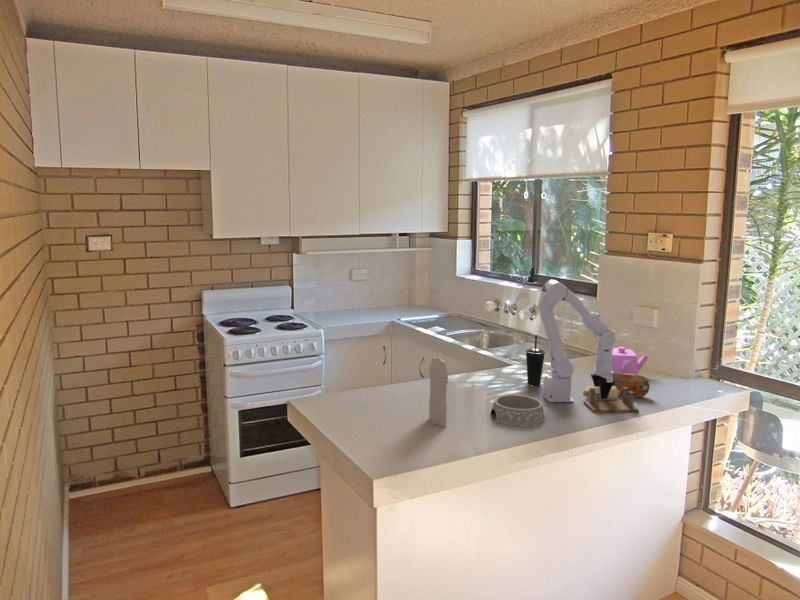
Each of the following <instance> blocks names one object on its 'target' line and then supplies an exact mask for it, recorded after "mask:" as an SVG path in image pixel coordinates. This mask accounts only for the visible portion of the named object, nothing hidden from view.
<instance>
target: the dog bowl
mask: <svg viewBox="0 0 800 600" xmlns="http://www.w3.org/2000/svg"><path fill="white" fill-rule="evenodd" d="M493 410H494V411H493ZM493 412H494V413H495V416H496V421H497V420H498V421H497V422H499V421H500V422H499V423H502V422H503V423H502V424H506V423H507V424H506V425H510V424H512V425H513V426H519V425H522V426H523V425H528V426H535V425H539V424H541V423H542V421H543V420H544V421H545V419H546V417H545V413H544V406H543V403H542V401H541V400H539V399H537V398H535V397H532V396H529V395H527V396H526V395H522V394H504V395H500V396H497V397H496V398H494V400H493V404H492V408H491V411H490V413H493ZM544 421H543V422H544ZM538 423H539V424H538ZM534 424H535V425H534ZM512 425H511V426H512Z"/></svg>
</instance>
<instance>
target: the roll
mask: <svg viewBox="0 0 800 600" xmlns="http://www.w3.org/2000/svg"><path fill="white" fill-rule="evenodd" d="M590 388H595V392H599V393H600V386H594V385H592V386H591V385H590V386H589V385H588V386H586V389H585V390H583V391H582V395H583V397H586V399H587V401H589V399H590ZM619 396H621V395H620V391H619V390H617V388H616V387H615V386H612V387H611V389H610V392H609V395H608V398H607V399H602V398H601V394H600V399H599V401H605V400H617V399H618V397H619ZM594 398H595V397H594Z"/></svg>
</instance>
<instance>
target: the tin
mask: <svg viewBox="0 0 800 600" xmlns="http://www.w3.org/2000/svg"><path fill="white" fill-rule="evenodd" d="M612 377H613V381H615V382H614V384H613V386H615V387H616V388H617V390H619V391H620V396H623V387H627V388H628V392H629V391H632V392H633V393H634V396H633V398H635V399H636V398H638V399H641V398H642V397H645V396H646V395H647V394H648V393H649V390H650V383H649V381H648V379H647V378H646V377H645V376H643V375H640V374H638V375H635V374H626V373H614V374H612Z"/></svg>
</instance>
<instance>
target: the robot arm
mask: <svg viewBox="0 0 800 600" xmlns="http://www.w3.org/2000/svg"><path fill="white" fill-rule="evenodd" d="M540 290H541V292H540V296H539V299H538V303H537V310H538V312H539V316H540V317H539V318H540V320H541V323H542V326H543V330H544V334H545V337H546V341H547V344H548V346H549V350H550V351H549V352H550V367H551V369H552V371H551V372H550V373H551V374H549V375H545V376H544V380H543V394H542V396H543V398H544V399H545V400H546V401H547V402H548V403H574V402H575V400H574V399H573V398H572V396H571V394H572V393H571V391H572V375H573V373H574V365H573V364H572V362H570V360H569V357H568V355H567V353H566V350H565V348H564V345H563V342H562V338H561V333H560V330H559V327H558V323H557V320H556V317H555V313H554V308H555V307H556V306H557V304H558V303H559V302H561V301H562V302H565V303H568V304H569V305H570V306H571V307H572V308H573V309H574V310H575V311H576V312H577V313H578V314H579V315H580V316H581V317H582V319H581V322H582V324H583V325H584V326H585V328H586V329H588V331H589V332H590V333H591V334H592V335H593V336H594V339H596V345H595V346H596V347H595V360H594V361H595V362H594V366H593V367H592V372H593V373H592V374H591V373H590V377H591V380H592V382H593V386H600V394H601V398H602V399H607V398H608V395H609V392H610V389H611V387H612V386H613V384H614V382H615V381H613V377H612V374H614V372H613V371H611V366H612V351H613V349H614V346H613V345H614V344H615V342H616V340H617V337H616V333H614V331H613V330H611V328H609V325H608V323H605V322H604V321H603V319H601V315H600V314H599V313H598V312H595V311H589V310H588V308H587V307H586V306H585V305H584V303H583V302H582V301H581V300H580V299H579V298H578V296H576V294H575V293H574V291H572V290H571V289H569V288H568V287H566V285H565V284H563V283H562V282H559V281H558V280H557V279H550V280H547V281H546V282H545V283H544V285H543V286H542V287H541V289H540Z"/></svg>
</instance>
